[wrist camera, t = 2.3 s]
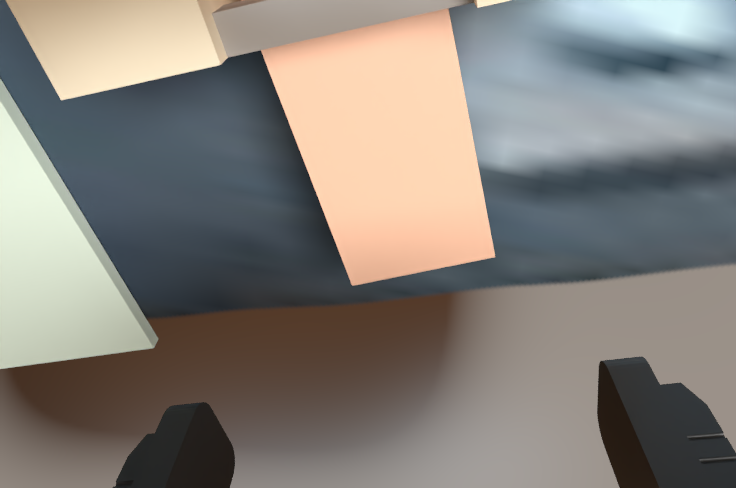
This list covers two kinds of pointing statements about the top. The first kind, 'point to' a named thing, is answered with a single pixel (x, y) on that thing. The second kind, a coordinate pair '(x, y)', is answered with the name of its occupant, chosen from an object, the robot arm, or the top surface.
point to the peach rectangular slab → (387, 144)
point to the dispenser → (183, 33)
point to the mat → (54, 264)
